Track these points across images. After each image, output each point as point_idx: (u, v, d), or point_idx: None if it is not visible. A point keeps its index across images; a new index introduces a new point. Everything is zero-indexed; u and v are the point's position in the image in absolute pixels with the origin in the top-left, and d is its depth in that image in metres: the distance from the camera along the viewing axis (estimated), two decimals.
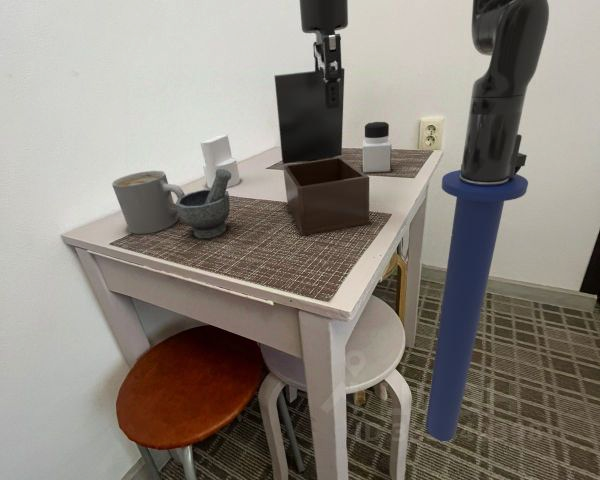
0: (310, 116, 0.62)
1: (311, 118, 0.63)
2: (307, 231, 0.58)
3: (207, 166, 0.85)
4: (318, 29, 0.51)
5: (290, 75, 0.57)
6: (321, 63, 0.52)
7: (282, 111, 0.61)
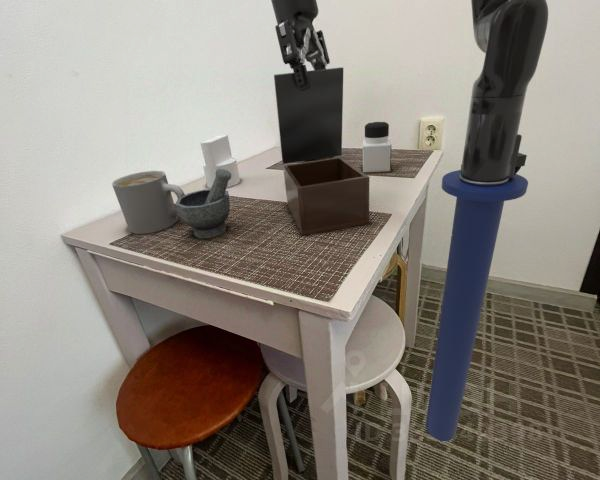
0: (310, 115, 0.63)
1: (311, 117, 0.63)
2: (307, 231, 0.58)
3: (207, 166, 0.85)
4: None
5: (289, 74, 0.57)
6: (289, 51, 0.57)
7: (282, 110, 0.61)
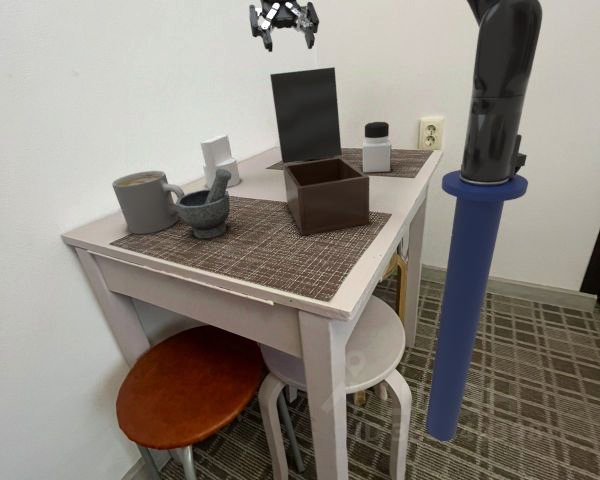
0: (306, 113, 0.65)
1: (307, 115, 0.65)
2: (307, 231, 0.58)
3: (207, 166, 0.85)
4: None
5: (284, 73, 0.62)
6: None
7: (279, 108, 0.64)
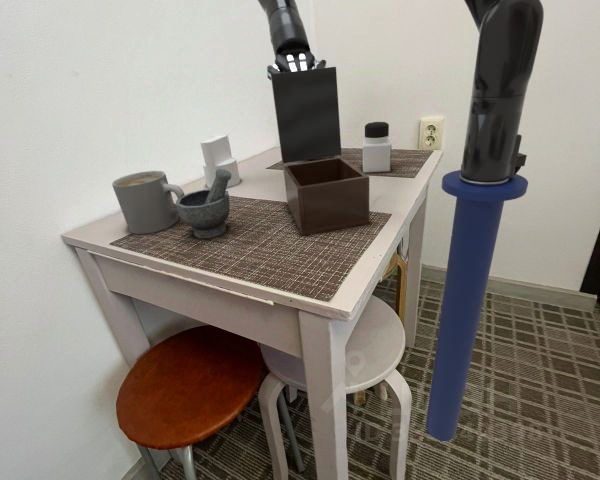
0: (307, 113, 0.65)
1: (308, 115, 0.65)
2: (307, 231, 0.58)
3: (207, 166, 0.85)
4: None
5: (285, 72, 0.61)
6: None
7: (279, 108, 0.63)
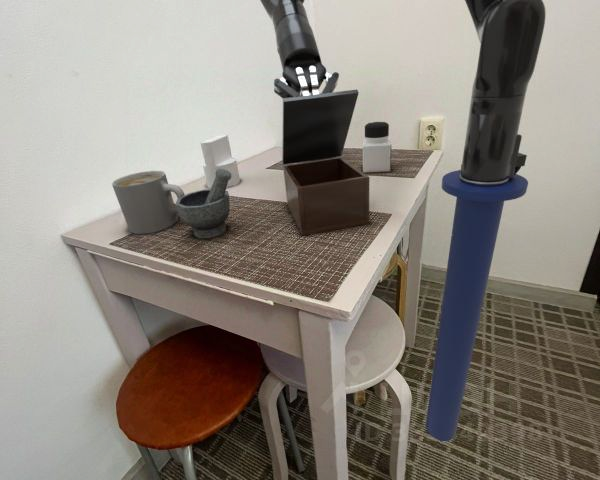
0: (316, 130, 0.60)
1: (316, 131, 0.60)
2: (307, 231, 0.58)
3: (207, 166, 0.85)
4: None
5: (300, 100, 0.53)
6: None
7: (287, 128, 0.58)
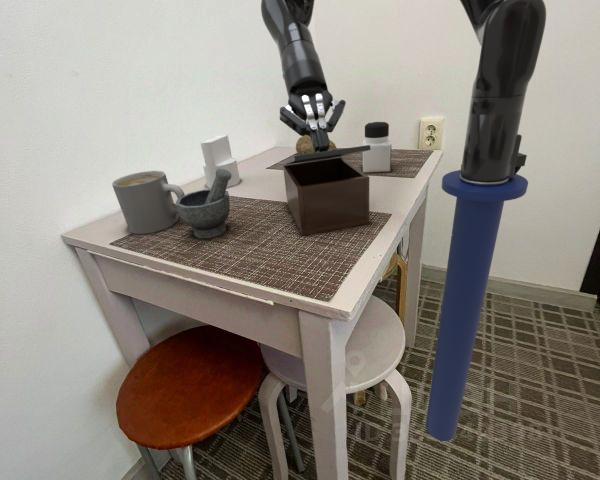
0: (321, 158, 0.60)
1: (321, 158, 0.60)
2: (307, 231, 0.58)
3: (207, 166, 0.85)
4: None
5: (311, 158, 0.52)
6: None
7: None
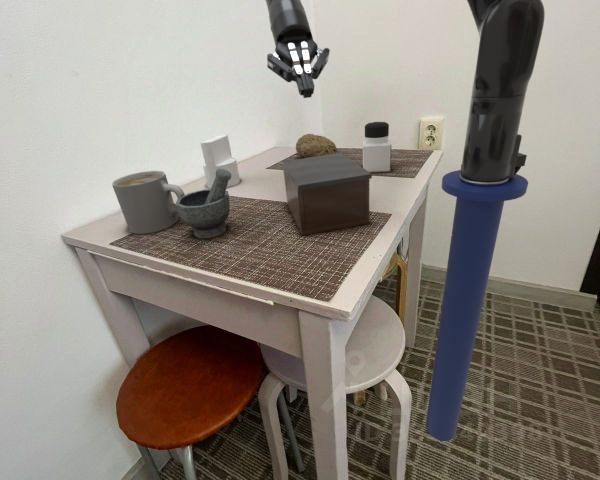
0: None
1: None
2: (307, 231, 0.58)
3: (207, 166, 0.85)
4: None
5: (314, 187, 0.54)
6: None
7: None
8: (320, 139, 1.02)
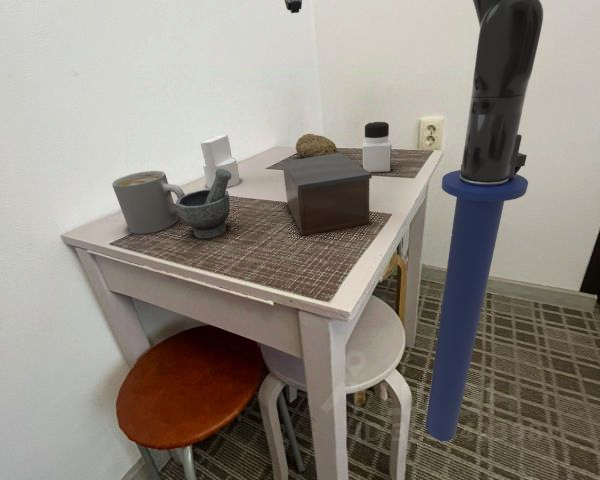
0: None
1: None
2: (307, 231, 0.58)
3: (207, 166, 0.85)
4: None
5: (314, 187, 0.54)
6: None
7: None
8: (320, 139, 1.02)
